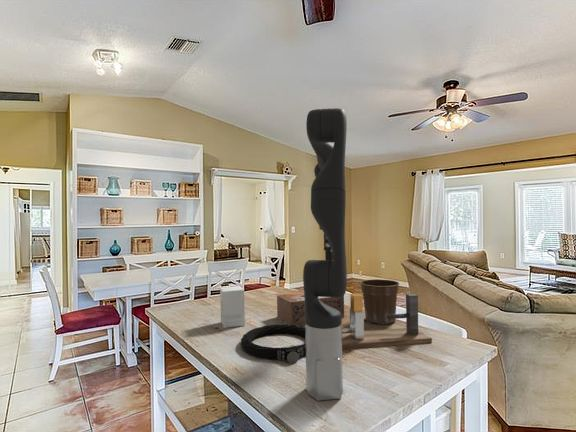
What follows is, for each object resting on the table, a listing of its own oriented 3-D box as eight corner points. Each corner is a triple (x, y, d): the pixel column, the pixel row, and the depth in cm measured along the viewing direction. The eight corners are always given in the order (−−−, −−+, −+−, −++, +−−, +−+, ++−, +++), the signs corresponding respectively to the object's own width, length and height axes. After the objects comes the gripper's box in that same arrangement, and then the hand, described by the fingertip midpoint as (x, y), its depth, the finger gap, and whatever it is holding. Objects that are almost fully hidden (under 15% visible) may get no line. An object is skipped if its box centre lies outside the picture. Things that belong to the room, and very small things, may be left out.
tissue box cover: (291, 326, 141) (290, 302, 141) (277, 317, 154) (277, 295, 154) (344, 318, 152) (343, 295, 152) (326, 310, 165) (326, 289, 165)
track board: (431, 342, 120) (431, 297, 120) (337, 349, 115) (336, 302, 115) (414, 331, 132) (413, 290, 132) (327, 337, 127) (327, 295, 127)
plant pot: (353, 317, 151) (352, 280, 151) (382, 313, 158) (382, 277, 158) (376, 328, 136) (375, 287, 136) (408, 323, 143) (407, 283, 143)
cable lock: (305, 320, 138) (335, 346, 109) (305, 329, 138) (335, 358, 109) (235, 326, 130) (247, 357, 101) (235, 336, 130) (248, 370, 101)
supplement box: (241, 319, 151) (240, 285, 151) (245, 326, 142) (244, 289, 142) (220, 322, 148) (219, 287, 148) (223, 328, 139) (222, 291, 139)
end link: (364, 338, 120) (363, 296, 120) (338, 340, 118) (337, 297, 118) (358, 333, 126) (357, 292, 126) (333, 334, 124) (332, 293, 124)
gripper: (338, 216, 119) (338, 263, 118) (341, 216, 132) (342, 259, 132) (316, 216, 120) (317, 263, 120) (322, 217, 134) (322, 259, 134)
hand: (330, 261), depth 126 cm, fingers open, 8 cm apart
